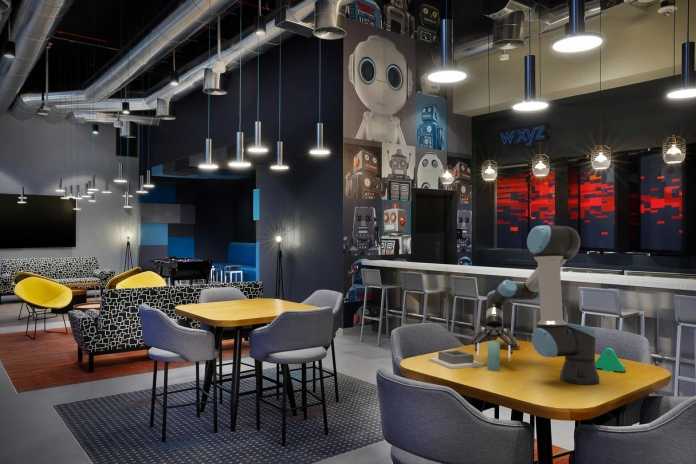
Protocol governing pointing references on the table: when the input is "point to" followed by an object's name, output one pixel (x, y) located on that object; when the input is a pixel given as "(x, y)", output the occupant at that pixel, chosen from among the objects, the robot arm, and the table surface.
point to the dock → (454, 366)
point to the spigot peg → (493, 356)
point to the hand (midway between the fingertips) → (493, 358)
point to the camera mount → (609, 361)
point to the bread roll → (503, 344)
